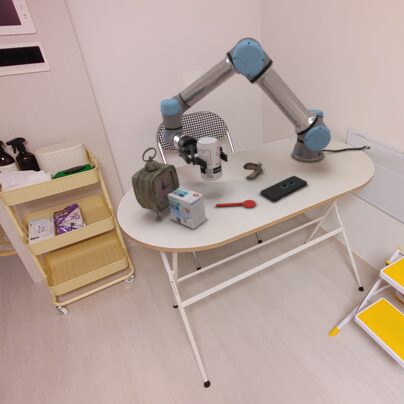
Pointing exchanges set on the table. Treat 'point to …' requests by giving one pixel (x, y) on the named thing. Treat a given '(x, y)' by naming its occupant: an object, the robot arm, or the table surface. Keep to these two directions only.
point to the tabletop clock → (154, 184)
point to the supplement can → (210, 158)
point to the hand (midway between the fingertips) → (216, 161)
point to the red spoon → (246, 204)
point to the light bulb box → (187, 207)
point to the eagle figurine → (254, 167)
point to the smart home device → (283, 188)
